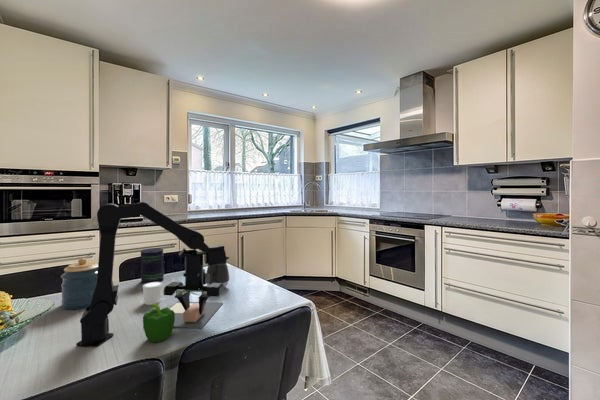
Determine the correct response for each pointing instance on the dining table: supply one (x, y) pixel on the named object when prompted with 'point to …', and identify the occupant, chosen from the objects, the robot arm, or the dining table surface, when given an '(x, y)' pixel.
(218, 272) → the pump dispenser
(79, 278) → the canister
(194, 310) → the flat block
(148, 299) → the white cup
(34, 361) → the dining table surface
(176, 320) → the rubber mat
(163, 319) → the bell pepper
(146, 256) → the storage jar
